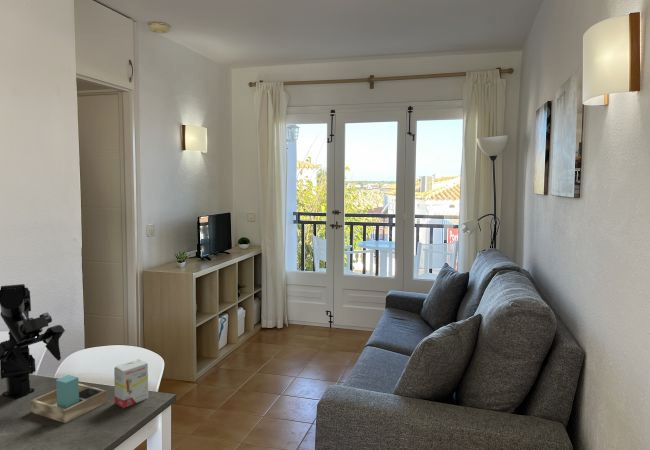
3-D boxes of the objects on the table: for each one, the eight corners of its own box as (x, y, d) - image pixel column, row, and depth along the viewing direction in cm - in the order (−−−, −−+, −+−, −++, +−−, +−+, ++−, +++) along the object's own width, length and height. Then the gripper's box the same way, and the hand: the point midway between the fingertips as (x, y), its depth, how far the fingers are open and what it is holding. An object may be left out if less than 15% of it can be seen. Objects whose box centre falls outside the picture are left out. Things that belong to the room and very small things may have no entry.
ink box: (123, 409, 145) (122, 371, 144) (114, 404, 148) (113, 366, 147) (149, 399, 152) (148, 362, 150) (140, 395, 155) (139, 358, 153)
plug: (57, 415, 140) (55, 380, 139) (69, 409, 143) (68, 374, 142) (67, 418, 138) (65, 382, 137) (79, 412, 142) (78, 377, 141)
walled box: (31, 413, 142) (30, 400, 141) (74, 394, 154) (73, 381, 154) (65, 424, 136) (64, 410, 135) (106, 403, 149) (106, 390, 148)
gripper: (-3, 314, 135) (26, 360, 131) (59, 298, 152) (86, 339, 148) (-19, 338, 139) (8, 383, 136) (43, 320, 156) (69, 360, 152)
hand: (45, 365), depth 143 cm, fingers open, 9 cm apart
